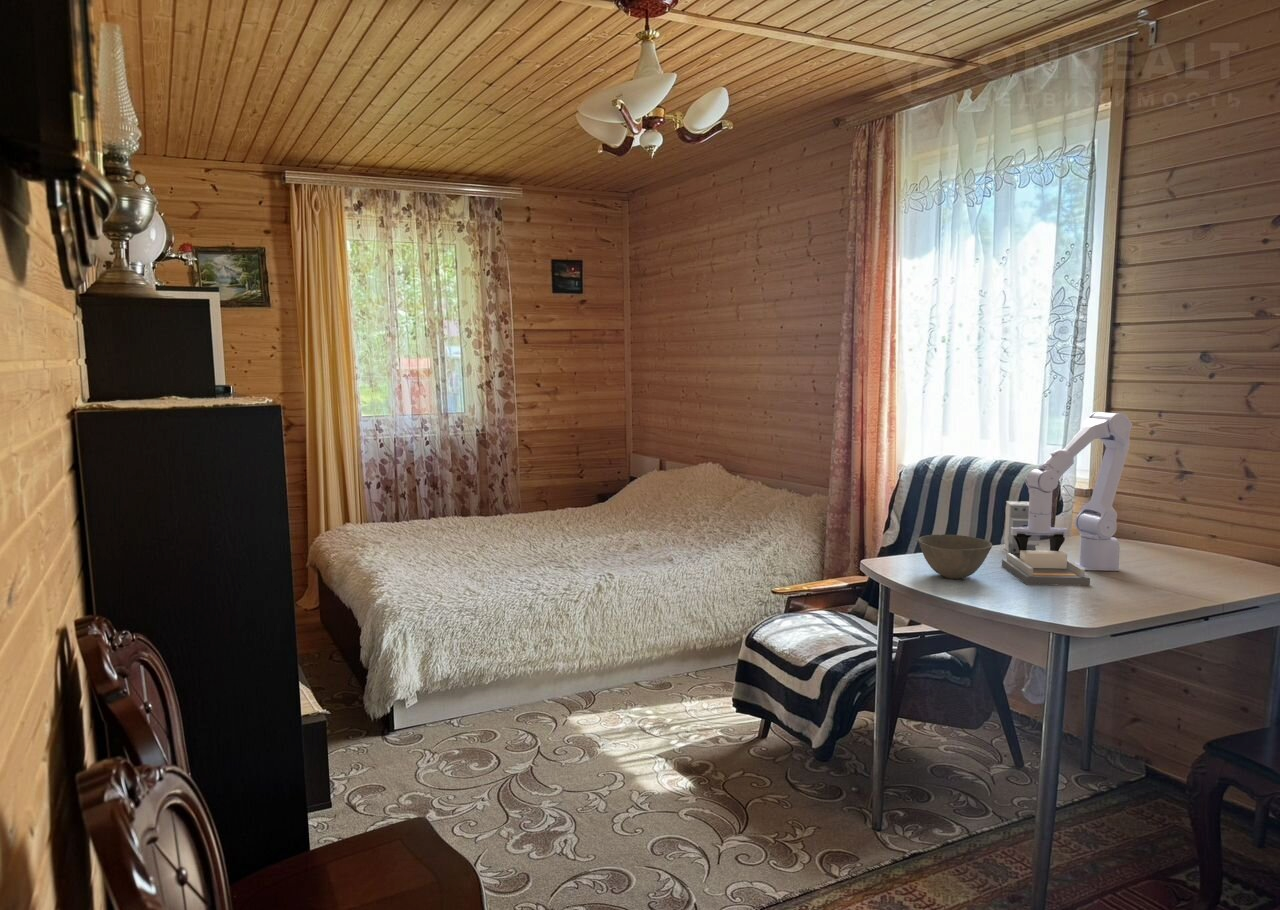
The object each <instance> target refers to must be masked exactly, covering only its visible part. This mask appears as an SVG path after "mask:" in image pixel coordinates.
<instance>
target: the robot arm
mask: <svg viewBox="0 0 1280 910" xmlns="http://www.w3.org/2000/svg"><path fill="white" fill-rule="evenodd" d="M1132 427H1133V423H1132V422H1131V420H1130V418H1129V417H1128V416H1127V415H1126V414H1125V413H1121V412H1117V413H1115V412H1102V411H1094V412H1092V413H1091V414H1090V415H1089V416H1088V417H1087V418H1086V419H1084V421H1083V426H1082V427H1080V430H1078V431H1077V433H1076V434H1075V435H1074V436H1073V438H1072V439H1071V440H1070V441H1069V442H1068V443H1067V444H1066V445H1065V446H1064V447H1063V449H1056V450H1053V451H1051V453H1050V456H1049V457H1048V458H1047V459H1045V461H1044V462H1043V463H1041V464H1039V466H1038V468H1034V469H1032V470H1030V471H1029V473H1028V474H1027V476H1026V478H1025V479H1024V482H1025V485H1026V486H1027V489H1028V492H1027V493H1028V494H1029V498H1028V502H1029V517H1028V527H1011V534H1012V535H1014V538H1015V540H1016V542H1017V545H1018V548H1019V551H1020V550H1026V549H1027V543H1028V538H1026V536H1025V535H1040V536H1048V537H1049V538H1048V539H1049V551H1060V548H1061V546H1062V545H1063V544H1064V542H1065V540H1066V537H1068V534H1069V533H1068V532H1069V529H1068V528H1066V527H1052V509H1053V508H1052V507H1053V491H1054V490H1055V489H1057V487H1058V485H1059V481H1060V479H1061V477H1062V476H1063V475H1064V474H1065V473H1066V472H1067V471H1068V470H1069V469H1070V468H1071V467H1072V466H1073V465H1074V462H1075V461H1074V460H1075V459H1074V458H1075V457H1076V456H1077V455H1078V454H1079V453H1081V451H1083V450H1084V449H1085V448H1086V447H1087V446H1088V445H1089V444H1091V443H1092V442H1093V441H1094V440H1096V439H1099V440H1100V441H1101V442H1102V444H1103V445H1104V447H1105V450H1104V453H1103V457H1102V461H1101V464H1100V467H1099V470H1098V473H1097V478H1096V480H1095V484H1094V487H1093V490H1092V495H1091V498H1090V500H1088V501H1087V502H1086V503H1085V504H1083V505H1082V507H1081V509H1080V512H1079V513H1077V516H1076V518H1075V521H1074V522H1075V523H1074V525H1075V528H1076V529H1077V531H1079V535H1080V541H1079V542H1080V543H1079V561H1074V562H1073V563H1075V564H1076V565H1078V566H1080V567H1082V568H1083V569H1085V571H1105V572H1106V571H1110V572H1111V571H1112V572H1114V571H1116V572H1117V571H1121V569H1120V567H1119V566H1120V552H1121V551H1120V549H1121V548H1120V542H1119V540H1118V539H1117V538H1116V537H1113V536H1114V535H1115V534H1116V532H1117V529H1118V523H1117V518H1118V513H1117V511H1116V510H1115V508H1114V507H1113V504H1114V501H1115V498H1116V494H1117V490H1118V487H1119V483H1120V481H1121V477H1122V474H1123V470H1124V466H1125V463H1126V460H1127V456H1128V453H1129V449H1130V445H1131V441H1130V435H1131V431H1132Z"/></svg>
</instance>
